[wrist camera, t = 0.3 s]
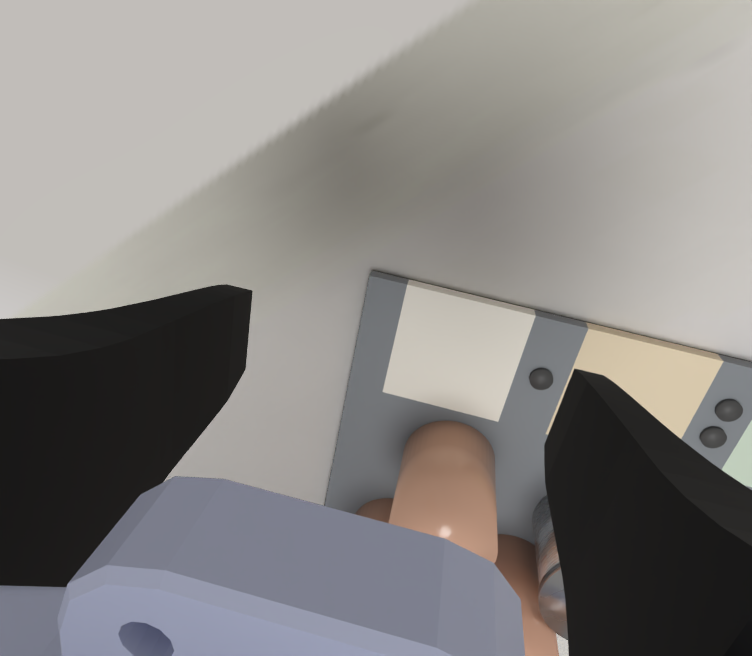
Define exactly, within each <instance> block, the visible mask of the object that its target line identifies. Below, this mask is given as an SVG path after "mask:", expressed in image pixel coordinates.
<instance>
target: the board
mask: <svg viewBox="0 0 752 656" xmlns="http://www.w3.org/2000/svg"><path fill="white" fill-rule="evenodd" d="M574 368H575V369H579V370H584V371H588V372H592V373H596V374H600V375H604V376H605V377H607V378H609V379H610V380H611V381H613V382H614V383H615V384H617V385H618V386H619V387H620V388H622V389H623V390H624V391H625V392H626V393H628V394H629V395H630V396H631V397H632V398H633V399H634V400H636V401H637V402H638V403H639V404H640V405H641V406H642V407H644V408H645V409H646V410H647V411H648V412H649V413H651V414H652V415H653V416H654V417H655V418H656V419H657V420H659V421H660V422H661V423H662V424H663V425H664V426H666V427H667V428H668V429H669V430H670V431H672V432H673V433H674V434H675V435H677V436H678V437H679V438H680V439H681V440H683V441H684V442H685V443H686V444H688V445H689V446H690V447H692V448H693V449H694V450H695V451H697V452H698V453H699V454H701V455H702V456H703V457H705V458H706V459H707V460H708V461H710V462H711V463H713V464H714V465H715V466H717V467H718V468H720V469H721V470H722V471H724V472H725V473H727V474H728V475H730V476H731V477H733V478H734V479H736V480H737V481H739V482H740V483H742V484H743V485H745V486H746V487H748V488H749V489H751V490H752V362H749V361H745V360H741V359H736V358H732V357H728V356H724V355H720V354H716V353H712V352H707V351H703V350H699V349H695V348H691V347H687V346H683V345H678V344H674V343H670V342H666V341H662V340H658V339H654V338H649V337H645V336H641V335H637V334H633V333H629V332H625V331H621V330H616V329H612V328H608V327H604V326H600V325H596V324H592V323H587V322H583V321H579V320H575V319H571V318H567V317H563V316H558V315H554V314H550V313H546V312H542V311H538V310H534V309H529V308H525V307H521V306H517V305H513V304H509V303H505V302H500V301H496V300H492V299H488V298H484V297H480V296H476V295H472V294H467V293H463V292H459V291H455V290H451V289H447V288H443V287H438V286H434V285H430V284H426V283H422V282H418V281H414V280H409V279H405V278H401V277H397V276H393V275H389V274H385V273H380V272H376V271H372V272H371V274H370V276H369V281H368V286H367V291H366V296H365V301H364V306H363V311H362V317H361V322H360V327H359V332H358V337H357V342H356V347H355V352H354V357H353V363H352V368H351V373H350V378H349V383H348V388H347V393H346V398H345V404H344V409H343V414H342V419H341V424H340V429H339V434H338V439H337V444H336V450H335V455H334V460H333V465H332V470H331V475H330V480H329V485H328V490H327V496H326V501H325V506H326V507H330V508H333V509H337V510H341V511H344V512H348V513H352V514H356V512H357V511H358V509H359V508H360V507H361V506H363V505H364V504H366V503H368V502H370V501H372V500H376V499H382V498H393V499H394V495H395V490H396V485H397V481H398V476H399V471H400V466H401V461H402V457H403V452H404V447H405V444H406V442H407V440H408V438H409V437H410V436H411V434H412V433H413V432H414V431H416V430H417V429H418V428H420V427H422V426H423V425H426V424H428V423H431V422H436V421H456V422H460V423H463V424H466V425H469V426H471V427H473V428H474V429H476V430H478V431H479V432H480V433H482V434H483V435H484V436H485V437H486V439H487V440H488V441H489V443H490V444H491V446H492V448H493V451H494V455H495V475H496V507H497V534H505V535H512V536H516V537H519V538H522V539H524V540H527V541H528V542H530V543H532V544H533V545H534V546H535V543H534V534H533V525H532V517H533V513H534V510H535V508H536V506H537V504H538V503H539V502H540V500H541V499H542V498H543V497H544V496H546V495H547V491H546V485H545V466H544V444H545V442H546V439H547V436H548V434H549V431H550V429H551V426H552V424H553V421H554V419H555V416H556V414H557V411H558V409H559V406H560V404H561V401H562V399H563V396H564V393H565V391H566V388H567V386H568V383H569V381H570V378H571V376H572V373H573V371H574Z"/></svg>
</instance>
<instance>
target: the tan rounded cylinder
mask: <svg viewBox="0 0 752 656" xmlns="http://www.w3.org/2000/svg"><path fill="white" fill-rule="evenodd" d="M389 524H393V525H396V526H400V527H404V528H408V529H411V530H415V531H419V532H422V533H426V534H430V535H433V536H437V537H441V538H445V539H447V540H449V541H451V542H453V543H455V544H457V545H459V546H461V547H463V548H465V549H467V550H469V551H471V552H473V553H475V554H477V555H479V556H481V557H483V558H485V559H487V560H489V561H491V562H493V563H494V564H495V562H496V559H497V554H498V539H497V507H496V475H495V455H494V451H493V448H492V446H491V444H490V443H489V441H488V440H487V439H486V437H485V436H484V435H483V434H482V433H480V432H479V431H478V430H476V429H474V428H473V427H471V426H469V425H466V424H463V423H460V422H456V421H436V422H431V423H428V424H426V425H423V426H422V427H420V428H418V429H417V430H416V431H414V432H413V433H412V434H411V436H410V437H409V438H408V440H407V442H406V444H405V447H404V452H403V457H402V461H401V466H400V471H399V476H398V481H397V485H396V490H395V495H394V500H393V504H392V509H391V514H390V519H389Z"/></svg>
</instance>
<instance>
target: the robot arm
mask: <svg viewBox="0 0 752 656" xmlns="http://www.w3.org/2000/svg"><path fill="white" fill-rule="evenodd" d="M251 300H252V291H251V290H247V289H243V288H239V287H235V286H231V285H216V286H211V287H206V288H201V289H197V290H193V291H188V292H184V293H180V294H176V295H172V296H168V297H164V298H160V299H156V300H151V301H146V302H141V303H137V304H132V305H127V306H122V307H117V308H112V309H107V310H101V311H94V312H87V313H79V314H70V315H62V316H51V317H32V318H13V319H0V656H525V648H524V635H523V622H522V609H521V599H520V598H519V596H518V595H517V594H516V592H515V591H514V590H513V588H512V587H511V586H510V584H509V583H508V582H507V580H506V579H505V577H504V576H503V575H502V573H501V572H500V571H499V569H498V568H497V567H496V565H495V564H494V563H493V562H491V561H489V560H487V559H485V558H483V557H481V556H479V555H477V554H475V553H473V552H471V551H469V550H467V549H465V548H463V547H461V546H459V545H457V544H455V543H453V542H451V541H449V540H447V539H445V538H441V537H437V536H433V535H430V534H426V533H422V532H419V531H415V530H411V529H408V528H404V527H400V526H396V525H393V524H389V523H385V522H382V521H378V520H374V519H370V518H367V517H363V516H359V515H356V514H352V513H348V512H344V511H341V510H337V509H333V508H330V507H326V506H322V505H319V504H315V503H311V502H307V501H304V500H300V499H296V498H293V497H289V496H285V495H281V494H278V493H274V492H270V491H267V490H263V489H259V488H256V487H252V486H248V485H244V484H241V483H237V482H233V481H230V480H226V479H216V478H197V477H178V476H175V477H173V478H171V479H169V480H167V481H165V482H163V481H164V480H165V479H166V477H167V476H168V475H169V473H170V472H171V471H172V469H173V468H174V467H175V466H176V464H177V463H178V462H179V461H180V459H181V458H182V457H183V456H184V454H185V453H186V452H187V451H188V450H189V448H190V447H191V446H192V445H193V443H194V442H195V441H196V440H197V438H198V437H199V436H200V435H201V434H202V432H203V431H204V430H205V429H206V427H207V426H208V425H209V424H210V422H211V421H212V420H213V419H214V417H215V416H216V415H217V414H218V412H219V411H220V410H221V408H222V407H223V406H224V405H225V403H226V402H227V400H228V399H229V397H230V395H231V394H232V392H233V390H234V389H235V387H236V385H237V383H238V382H239V380H240V378H241V376H242V374H243V373H244V371H245V368H246V357H247V345H248V334H249V323H250V312H251ZM544 466H545V485H546V491H547V497H548V503H549V508H550V514H551V519H552V525H553V530H554V535H555V540H556V546H557V551H558V556H559V562H560V567H561V572H562V578H563V585H564V593H565V602H566V616H567V631H568V645H569V656H752V490H751V489H749V488H748V487H746V486H745V485H743V484H742V483H740V482H739V481H737V480H736V479H734V478H733V477H731V476H730V475H728V474H727V473H725V472H724V471H722V470H721V469H720V468H718V467H717V466H715V465H714V464H713V463H711V462H710V461H708V460H707V459H706V458H705V457H703V456H702V455H701V454H699V453H698V452H697V451H695V450H694V449H693V448H692V447H690V446H689V445H688V444H686V443H685V442H684V441H683V440H681V439H680V438H679V437H678V436H677V435H675V434H674V433H673V432H672V431H670V430H669V429H668V428H667V427H666V426H664V425H663V424H662V423H661V422H660V421H659V420H657V419H656V418H655V417H654V416H653V415H652V414H651V413H649V412H648V411H647V410H646V409H645V408H644V407H642V406H641V405H640V404H639V403H638V402H637V401H636V400H634V399H633V398H632V397H631V396H630V395H629V394H628V393H626V392H625V391H624V390H623V389H622V388H620V387H619V386H618V385H617V384H615V383H614V382H613V381H611V380H610V379H609V378H607V377H605V376H604V375H600V374H596V373H592V372H588V371H584V370H579V369H575V368H574V371H573V373H572V376H571V378H570V381H569V383H568V386H567V388H566V391H565V393H564V396H563V399H562V401H561V404H560V406H559V409H558V411H557V414H556V416H555V419H554V421H553V424H552V426H551V429H550V431H549V434H548V436H547V439H546V442H545V444H544Z"/></svg>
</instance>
